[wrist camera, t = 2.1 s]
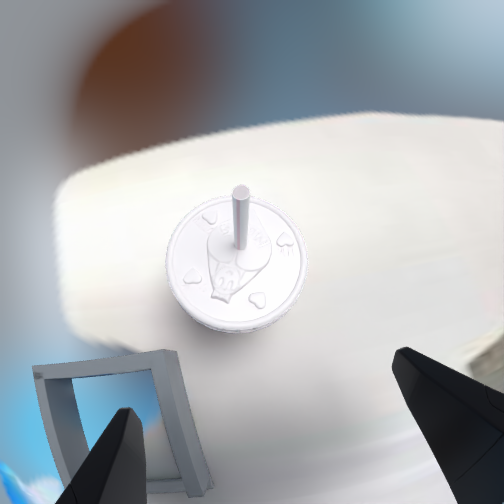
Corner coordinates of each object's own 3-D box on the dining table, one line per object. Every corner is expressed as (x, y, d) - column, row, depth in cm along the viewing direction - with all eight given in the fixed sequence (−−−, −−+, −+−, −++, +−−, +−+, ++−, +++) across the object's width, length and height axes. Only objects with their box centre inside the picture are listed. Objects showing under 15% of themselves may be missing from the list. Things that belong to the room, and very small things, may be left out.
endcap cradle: (213, 485, 17) (208, 508, 13) (93, 488, 16) (71, 504, 12) (176, 351, 20) (162, 349, 17) (60, 367, 19) (32, 365, 15)
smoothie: (291, 274, 23) (354, 161, 10) (266, 355, 21) (309, 348, 7) (212, 249, 23) (184, 114, 10) (182, 326, 21) (97, 269, 8)
